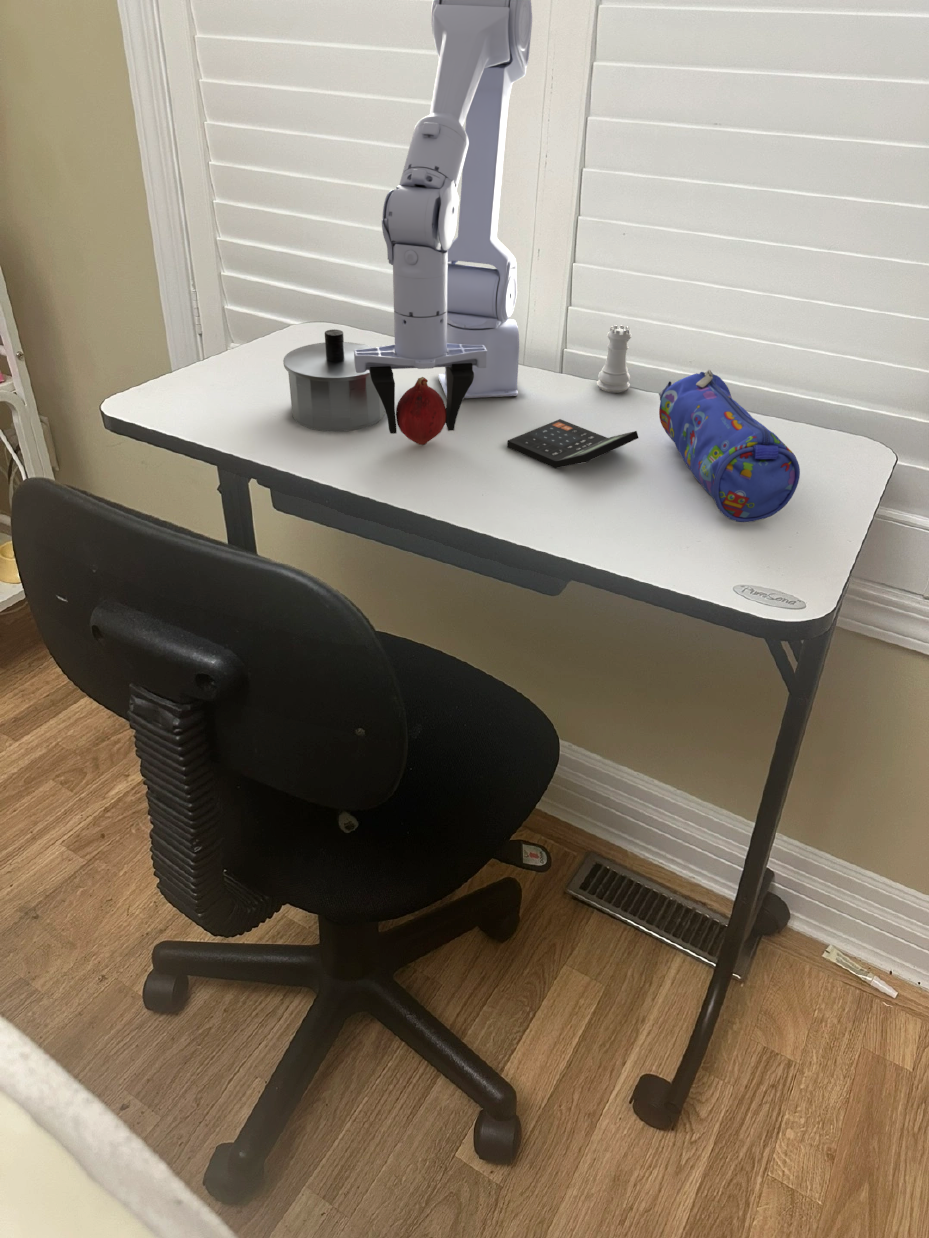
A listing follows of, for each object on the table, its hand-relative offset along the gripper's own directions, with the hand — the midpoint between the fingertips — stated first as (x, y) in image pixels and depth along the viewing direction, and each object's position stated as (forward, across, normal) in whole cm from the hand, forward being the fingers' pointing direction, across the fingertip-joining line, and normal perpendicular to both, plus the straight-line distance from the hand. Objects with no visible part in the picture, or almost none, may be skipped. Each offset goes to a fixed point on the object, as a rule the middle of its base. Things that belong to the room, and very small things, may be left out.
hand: (421, 428), depth 104 cm
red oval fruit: (+2, 0, 0) cm, 2 cm away
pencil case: (+2, +31, -13) cm, 34 cm away
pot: (+2, -9, +10) cm, 14 cm away
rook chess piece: (+2, +28, +15) cm, 32 cm away
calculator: (+2, +17, -4) cm, 18 cm away
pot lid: (-4, -9, +10) cm, 15 cm away
